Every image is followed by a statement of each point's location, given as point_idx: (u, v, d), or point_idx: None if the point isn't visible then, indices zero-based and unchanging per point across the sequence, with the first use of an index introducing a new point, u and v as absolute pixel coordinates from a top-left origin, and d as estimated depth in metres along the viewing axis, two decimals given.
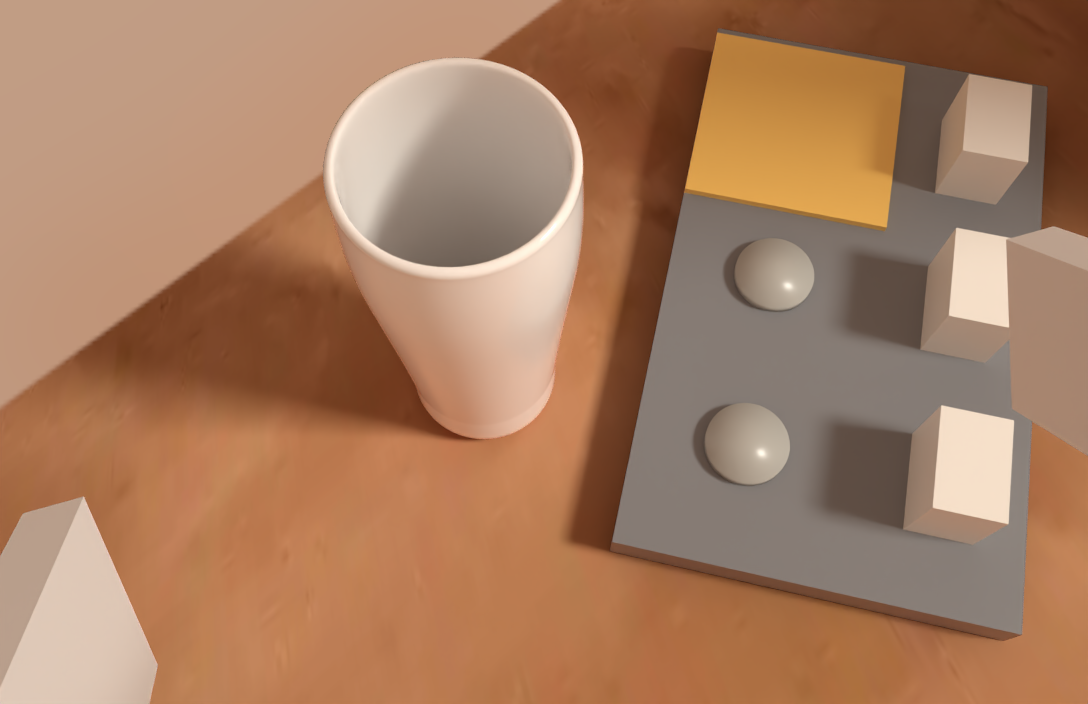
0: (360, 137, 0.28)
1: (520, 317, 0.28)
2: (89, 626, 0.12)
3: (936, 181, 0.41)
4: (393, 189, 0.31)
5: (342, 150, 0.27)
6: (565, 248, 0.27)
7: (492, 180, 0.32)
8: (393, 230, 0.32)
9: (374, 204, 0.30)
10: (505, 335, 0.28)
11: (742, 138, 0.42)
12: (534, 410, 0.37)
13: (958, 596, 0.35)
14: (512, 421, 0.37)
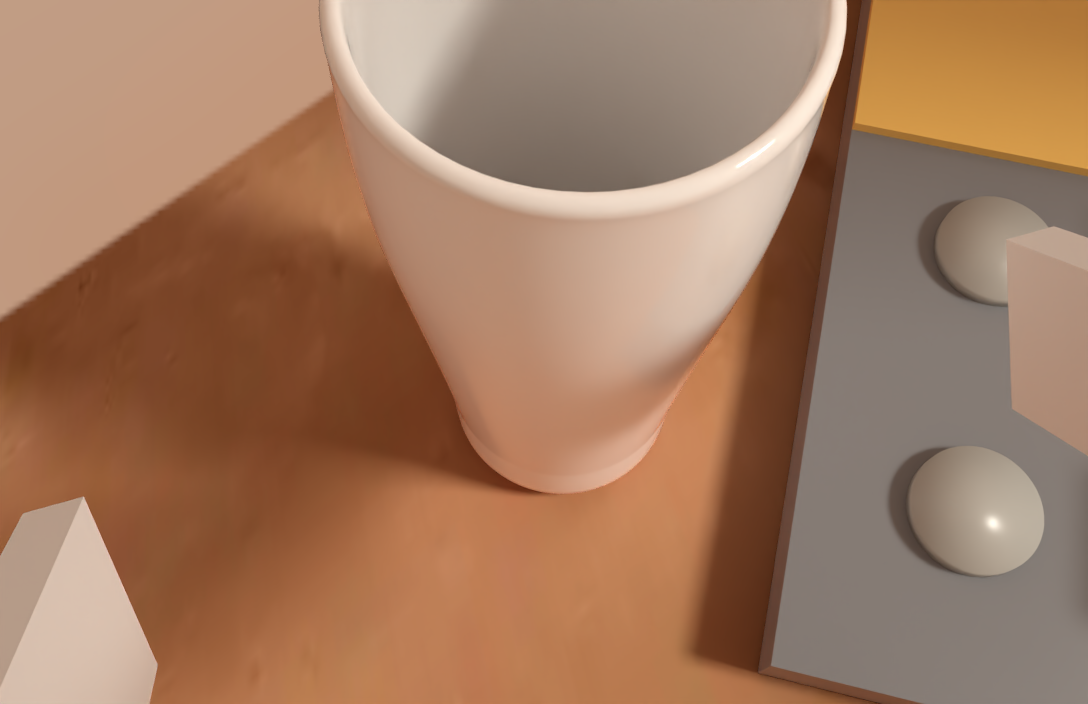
0: None
1: (693, 305, 0.14)
2: (89, 626, 0.12)
3: None
4: (442, 80, 0.18)
5: None
6: (798, 168, 0.13)
7: (608, 73, 0.19)
8: None
9: (409, 102, 0.17)
10: (657, 338, 0.15)
11: (934, 53, 0.29)
12: (642, 452, 0.24)
13: None
14: (610, 469, 0.24)
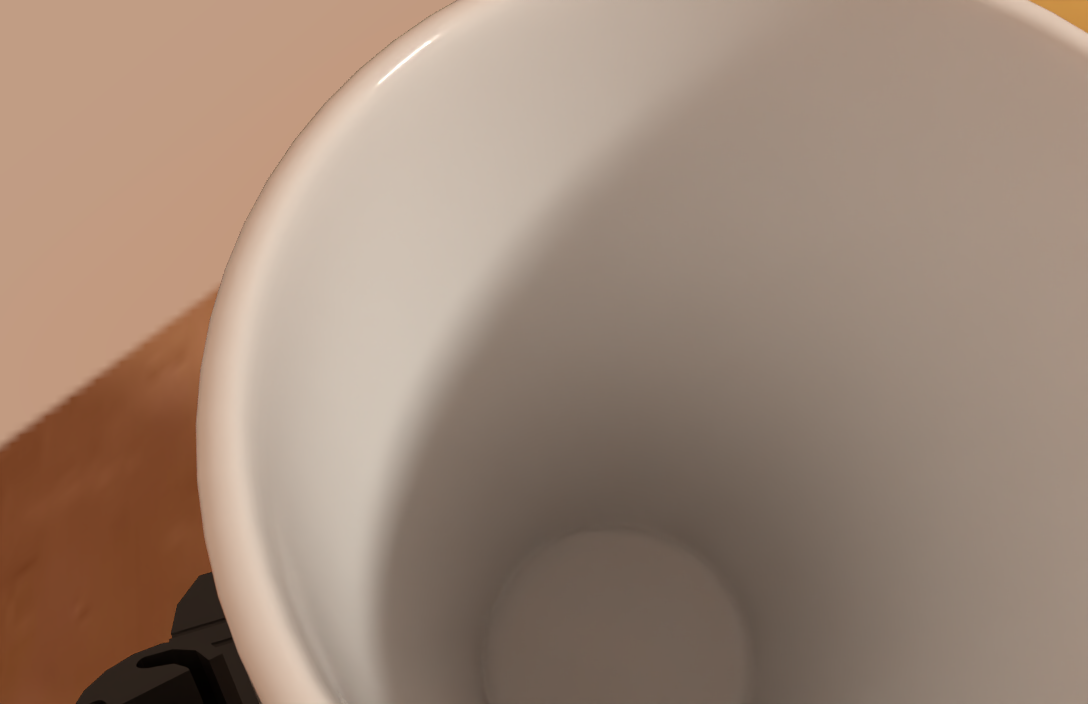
0: (364, 230, 0.07)
1: None
2: None
3: None
4: (455, 352, 0.11)
5: (290, 295, 0.06)
6: None
7: (715, 316, 0.12)
8: (445, 447, 0.12)
9: (400, 406, 0.10)
10: None
11: None
12: None
13: None
14: None
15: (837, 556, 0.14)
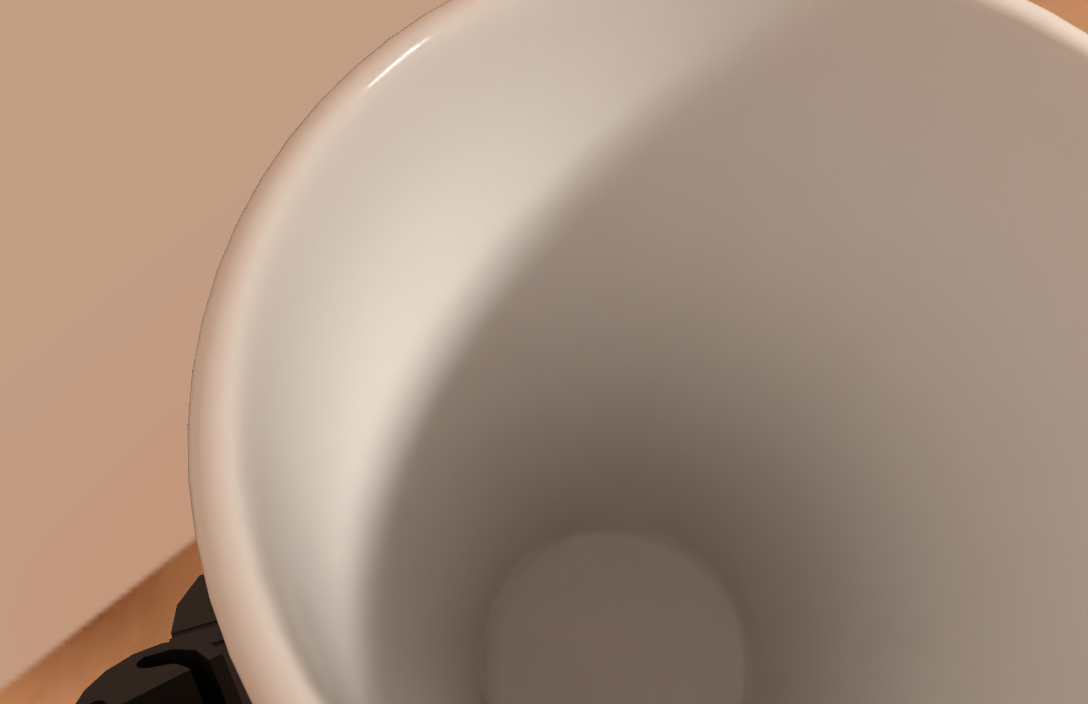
0: (358, 230, 0.07)
1: None
2: None
3: None
4: (451, 353, 0.11)
5: (284, 296, 0.06)
6: None
7: (713, 316, 0.12)
8: (442, 447, 0.12)
9: (397, 405, 0.10)
10: None
11: None
12: None
13: None
14: None
15: (835, 557, 0.14)
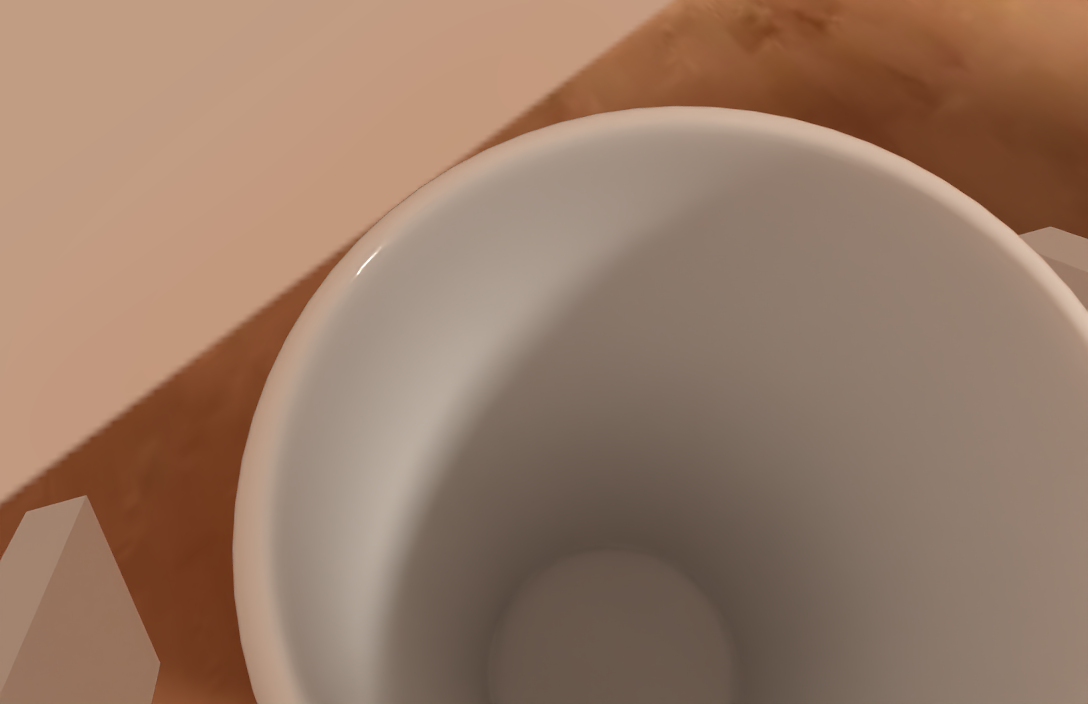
0: (367, 358, 0.09)
1: None
2: (92, 624, 0.12)
3: None
4: (451, 424, 0.12)
5: (306, 429, 0.08)
6: None
7: (688, 382, 0.13)
8: (447, 499, 0.13)
9: (405, 475, 0.12)
10: None
11: None
12: None
13: None
14: None
15: (805, 588, 0.15)
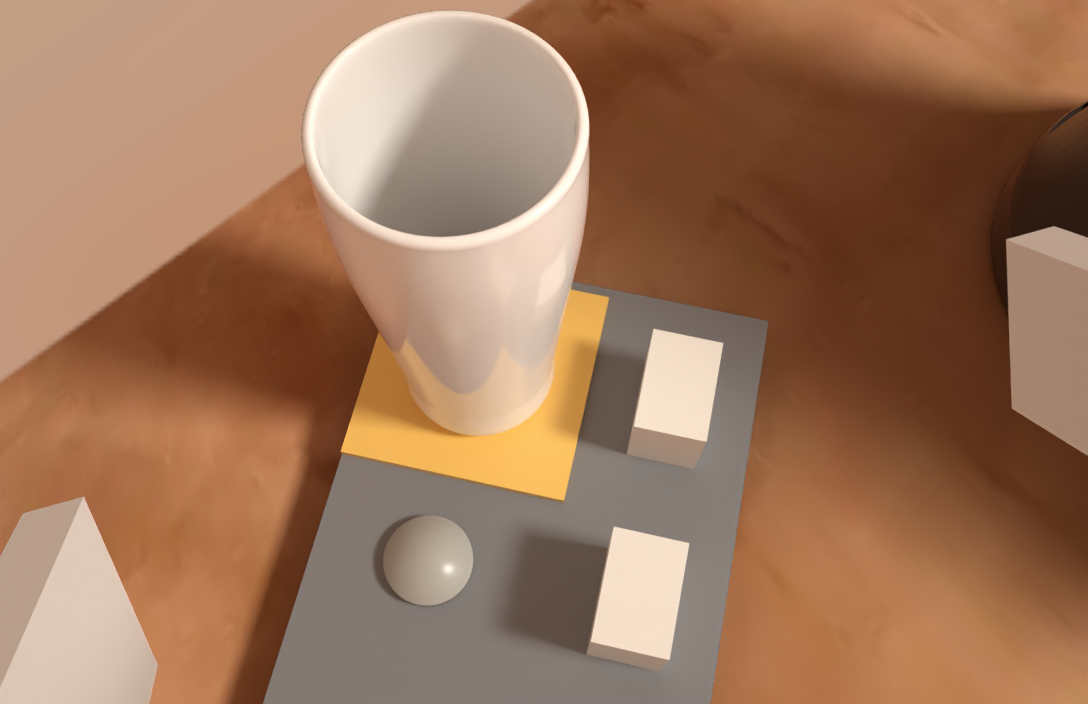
0: (343, 99, 0.25)
1: (520, 297, 0.25)
2: (89, 626, 0.12)
3: (629, 440, 0.36)
4: (380, 160, 0.28)
5: (323, 111, 0.24)
6: (569, 218, 0.24)
7: (488, 152, 0.30)
8: (380, 207, 0.30)
9: (359, 176, 0.28)
10: (503, 317, 0.26)
11: None
12: (533, 404, 0.35)
13: None
14: (510, 416, 0.34)
15: None
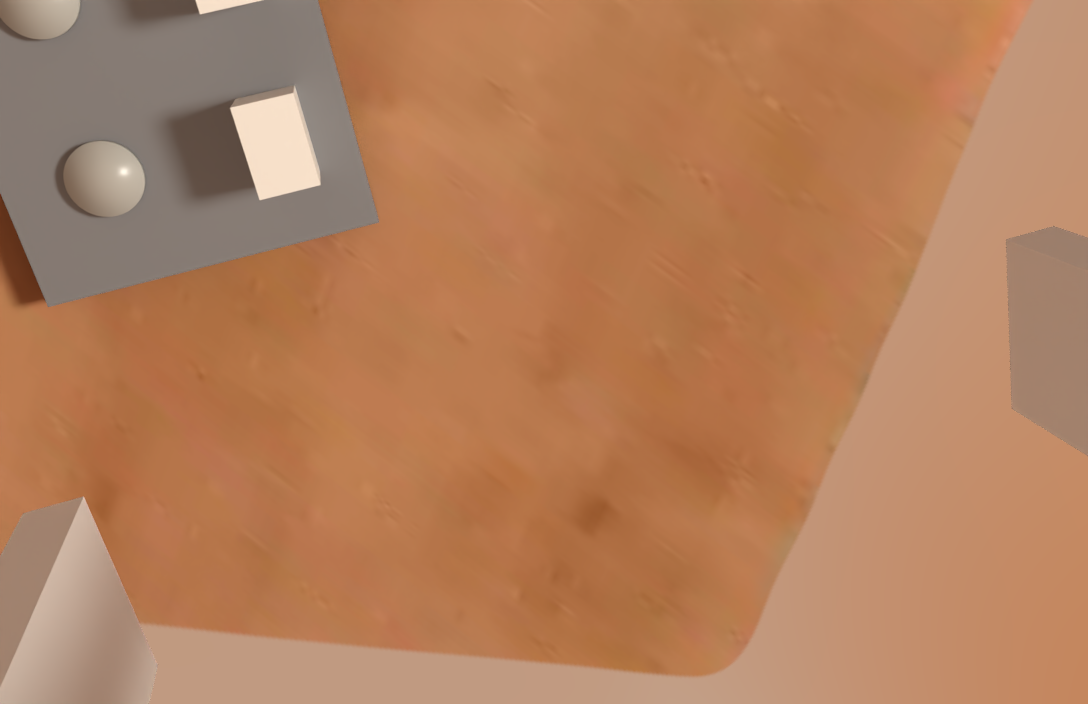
0: None
1: None
2: (89, 626, 0.12)
3: None
4: None
5: None
6: None
7: None
8: None
9: None
10: None
11: None
12: None
13: (324, 217, 0.43)
14: None
15: None
